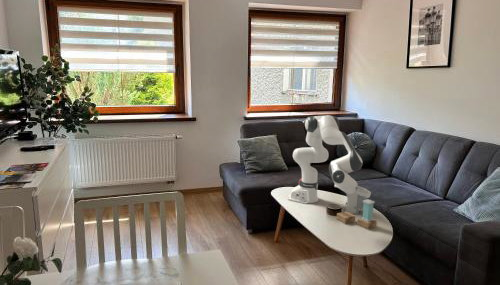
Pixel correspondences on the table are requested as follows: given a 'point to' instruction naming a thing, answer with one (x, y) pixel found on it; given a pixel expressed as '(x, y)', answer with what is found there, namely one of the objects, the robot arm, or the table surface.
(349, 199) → the circuit breaker
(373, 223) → the stand
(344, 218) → the stand
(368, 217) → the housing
